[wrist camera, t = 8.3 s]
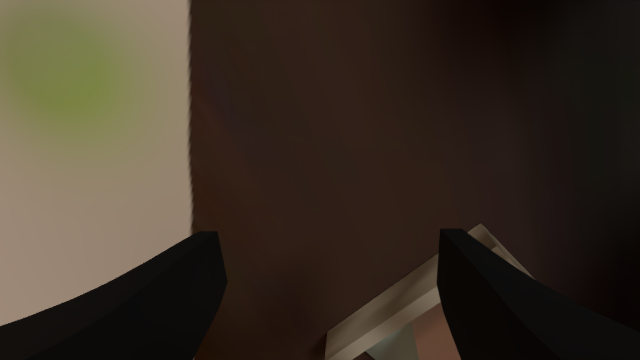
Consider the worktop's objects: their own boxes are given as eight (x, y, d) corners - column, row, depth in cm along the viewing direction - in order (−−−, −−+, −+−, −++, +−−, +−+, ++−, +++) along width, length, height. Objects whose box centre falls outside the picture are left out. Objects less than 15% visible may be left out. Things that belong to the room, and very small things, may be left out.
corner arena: (480, 223, 20) (496, 246, 18) (602, 348, 23) (629, 383, 21) (327, 331, 25) (324, 361, 22) (444, 427, 27) (452, 463, 25)
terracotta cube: (472, 273, 21) (504, 338, 17) (521, 320, 22) (564, 393, 18) (410, 315, 23) (424, 383, 18) (458, 357, 24) (482, 432, 19)
